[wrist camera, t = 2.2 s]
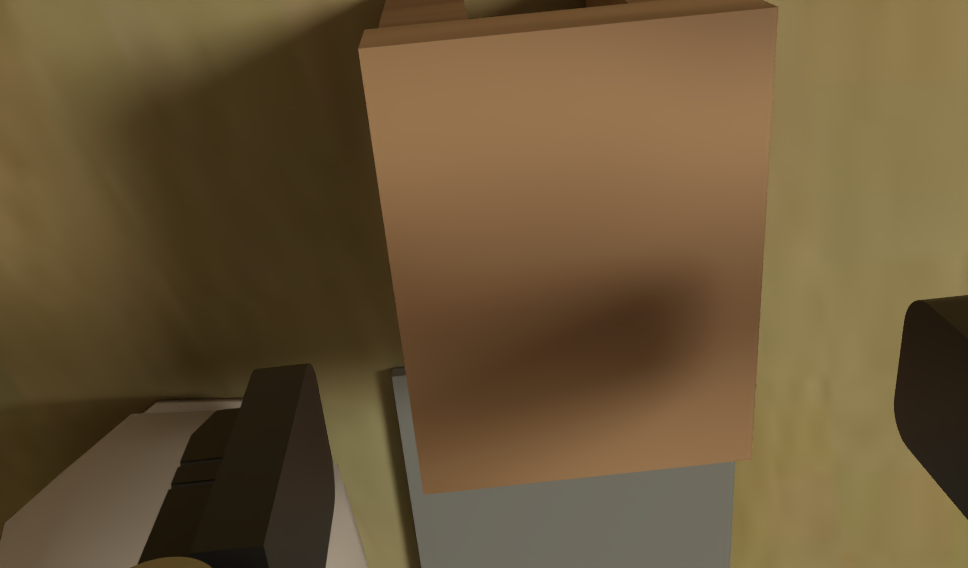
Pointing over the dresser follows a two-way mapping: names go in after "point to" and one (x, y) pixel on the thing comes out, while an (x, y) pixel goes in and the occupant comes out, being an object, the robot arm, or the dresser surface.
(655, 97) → the small wooden bench
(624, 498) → the mat
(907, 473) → the dresser surface
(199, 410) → the potion bottle
